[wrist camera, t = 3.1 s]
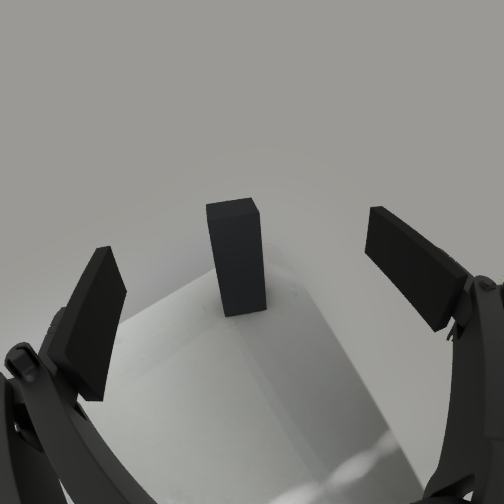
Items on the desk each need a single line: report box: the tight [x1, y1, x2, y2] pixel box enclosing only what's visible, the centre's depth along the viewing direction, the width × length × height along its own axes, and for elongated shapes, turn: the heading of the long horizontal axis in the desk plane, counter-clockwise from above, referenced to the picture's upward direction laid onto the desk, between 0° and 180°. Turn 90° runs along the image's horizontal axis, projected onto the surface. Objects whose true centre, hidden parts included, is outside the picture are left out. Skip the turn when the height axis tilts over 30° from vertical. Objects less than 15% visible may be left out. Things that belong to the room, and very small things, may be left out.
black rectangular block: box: [206, 198, 267, 317], centre depth 25 cm, size 4×4×10 cm
